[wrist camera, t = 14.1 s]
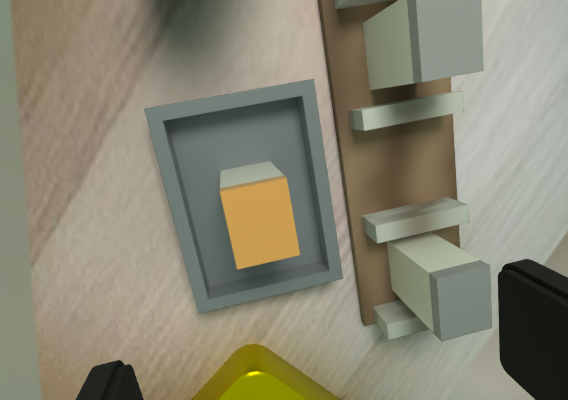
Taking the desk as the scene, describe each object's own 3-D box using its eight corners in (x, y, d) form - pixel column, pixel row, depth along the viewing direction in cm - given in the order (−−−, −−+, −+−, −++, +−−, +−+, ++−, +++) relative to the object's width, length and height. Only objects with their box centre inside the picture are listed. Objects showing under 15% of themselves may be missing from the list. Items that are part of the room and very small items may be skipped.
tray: (304, 82, 29) (313, 79, 26) (332, 264, 33) (343, 278, 30) (152, 109, 28) (144, 108, 25) (200, 295, 32) (198, 313, 29)
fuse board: (438, -29, 29) (469, -50, 25) (457, 296, 36) (484, 316, 33) (316, -11, 28) (330, -30, 24) (361, 321, 35) (378, 345, 32)
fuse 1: (411, 15, 29) (480, -21, 21) (416, 81, 30) (483, 70, 22) (362, 23, 28) (415, -11, 20) (370, 90, 29) (422, 82, 22)
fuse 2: (428, 230, 33) (490, 265, 26) (431, 279, 34) (492, 327, 27) (386, 240, 33) (436, 278, 25) (392, 289, 34) (441, 341, 26)
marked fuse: (270, 161, 29) (286, 177, 22) (280, 219, 31) (300, 255, 23) (220, 170, 29) (219, 191, 21) (233, 229, 30) (237, 269, 23)
